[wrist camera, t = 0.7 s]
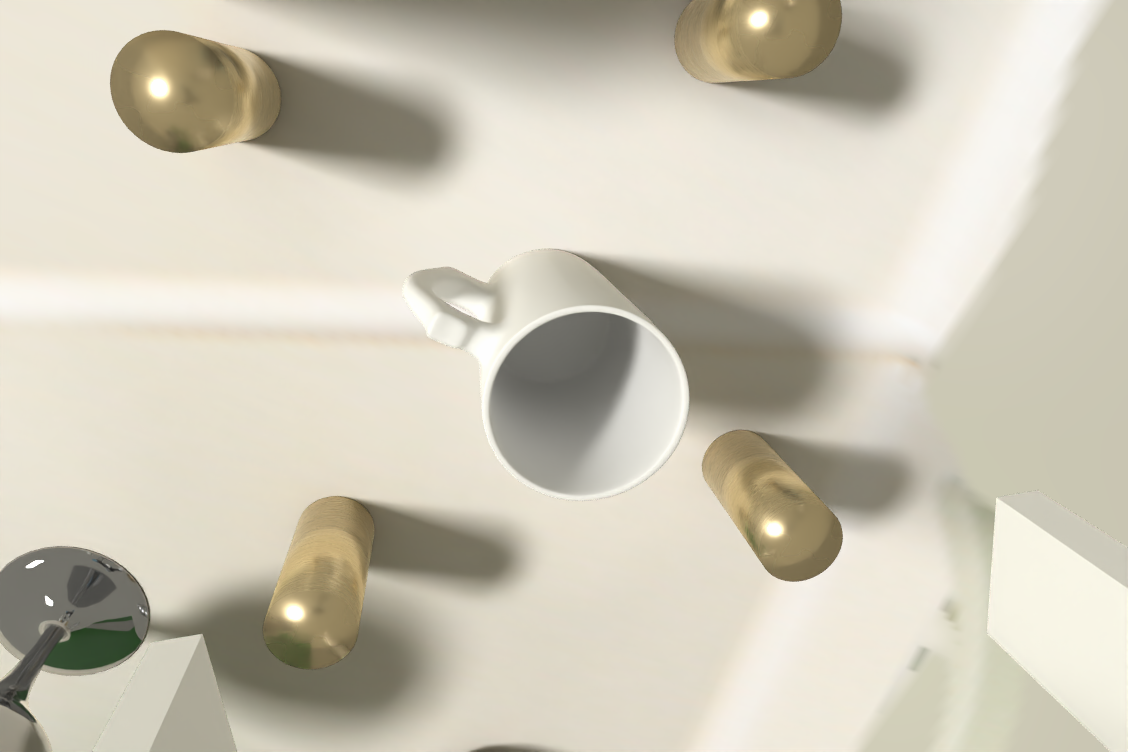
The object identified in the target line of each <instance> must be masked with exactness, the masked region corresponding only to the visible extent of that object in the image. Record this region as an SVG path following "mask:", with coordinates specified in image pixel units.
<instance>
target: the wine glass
mask: <svg viewBox="0 0 1128 752" xmlns="http://www.w3.org/2000/svg"><path fill="white" fill-rule="evenodd" d="M148 623H149V608H148V604H147V600H146V597H145V595H144V593H143V591H142V589H141V587H140V586H139V584H138V583H137V581H136V580H135V579H134V577H133V576H132V575H131V574H130V573H129V572H128V571H126V570H125V569H124V568H123V567H122V566H120V565H119V564H117V563H116V562H115V561H113V560H111V559H109V558H107V557H105V556H103V555H101V554H98V553H95V552H92V551H89V550H86V549H80V548H75V547H59V546H57V547H48V548H42V549H38V550H34V551H30V552H28V553H26V554H23V555H21V556H19V557H17V558H16V559H14V560H13V561H11V562H10V563H8V564H7V565H6V566H5V567H4V568H3V569H2V570H1V571H0V643H1V644H2V645H3V646H4V648H5V649H6V650H8V651H9V652H10V653H11V654H12V655H13V656H14V657H16V658H17V659H19V660H21V661H20V662H19V663H18V664H17V665H16V666H15V667H14V668H13V669H12V670H10V671H9V672H8V673H7V674H6V675H5V676H4V677H3V678H2V679H0V752H53V751H52V748H51V744H50V742H49V739H48V736H47V734H46V732H45V730H44V729H43V727H42V725H41V724H40V722H39V721H38V720H37V718H36V717H35V716H34V714H33V713H32V712H31V710H30V709H29V702H28V700H29V695H30V692H31V689H32V687H33V685H34V683H35V680H36V678H37V676H38V674H39V673H40V671H41V670H42V671H45V672H49V673H52V674H59V675H66V676H81V675H89V674H95V673H99V672H102V671H106V670H108V669H110V668H112V667H115V666H117V665H119V664H120V663H122V662H123V661H125V660H126V659H128V658H129V657H130V656H131V655H132V654H133V653H134V652H135V651H136V650H137V649H138V647H139V646H140V644H141V643H142V641H143V639H144V637H145V635H146V632H147V629H148Z"/></svg>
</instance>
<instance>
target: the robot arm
mask: <svg viewBox="0 0 1128 752" xmlns="http://www.w3.org/2000/svg"><path fill="white" fill-rule="evenodd" d="M987 634H988V635H989V636H990V637H991V638H992V639H993V640H994V641H995V642H996V643H997V644H998V645H999V646H1000V647H1001V648H1003V649H1004V650H1005V651H1006V652H1007V653H1008V654H1009V655H1010V656H1011V657H1012V658H1013V659H1014V660H1015V661H1016V662H1017V663H1018V664H1019V665H1020V666H1021V667H1022V668H1023V669H1024V670H1025V671H1027V672H1028V673H1029V674H1030V675H1031V676H1032V677H1033V678H1034V679H1035V680H1036V681H1037V682H1038V683H1039V684H1040V685H1041V686H1042V687H1043V688H1044V689H1045V690H1046V691H1048V692H1049V693H1050V694H1051V695H1052V696H1053V697H1054V698H1055V699H1056V700H1057V701H1058V702H1059V703H1060V704H1061V705H1062V706H1063V707H1064V708H1065V709H1066V710H1067V711H1068V712H1069V713H1070V714H1072V715H1073V717H1075V718H1076V719H1077V720H1078V721H1079V722H1080V723H1081V724H1082V725H1083V726H1084V727H1085V728H1086V729H1087V730H1088V731H1090V733H1091V734H1092V735H1093V736H1094V737H1095V738H1096V739H1098V740H1099V741H1100V742H1101V743H1102V744H1103V745H1104V746H1105V747H1106V748H1107V749H1108V750H1109V751H1110V752H1128V547H1127V546H1125V545H1124V544H1122V543H1121V542H1119V541H1117V540H1115V539H1114V538H1113V537H1111V536H1110V535H1108V534H1106V533H1105V532H1103V531H1102V530H1100V529H1099V528H1097V527H1095V526H1094V525H1092V524H1091V523H1089V522H1087V521H1086V520H1084V519H1083V518H1081V517H1080V516H1078V515H1077V514H1075V513H1073V512H1072V511H1070V510H1069V509H1067V508H1066V507H1064V506H1062V505H1060V504H1059V503H1058V502H1056V501H1054V500H1053V499H1051V498H1050V497H1048V496H1047V495H1045V494H1043V493H1042V492H1040V491H1039V490H1035V491H1029V492H1024V493H1018V494H1012V495H1006V496H1000V497H996V510H995V524H994V538H993V553H992V567H991V581H990V596H989V610H988V624H987ZM92 752H237V750H236V746H235V743H234V739H233V736H232V732H231V729H230V726H229V722H228V719H227V715H226V712H225V709H224V705H223V702H222V698H221V695H220V692H219V688H218V685H217V681H216V678H215V674H214V671H213V668H212V664H211V661H210V657H209V654H208V651H207V647H206V644H205V640H204V637H203V634H198V635H192V636H186V637H180V638H174V639H169V640H163V641H157V642H151V643H150V645H149V647H148V649H147V651H146V653H145V655H144V656H143V658H142V660H141V662H140V664H139V666H138V667H137V669H136V671H135V673H134V675H133V677H132V679H131V680H130V682H129V684H128V686H127V688H126V690H125V691H124V693H123V695H122V697H121V699H120V701H119V703H118V704H117V706H116V708H115V710H114V712H113V714H112V715H111V717H110V719H109V721H108V723H107V725H106V727H105V728H104V730H103V732H102V734H101V736H100V738H99V739H98V741H97V743H96V745H95V747H94V749H93V751H92Z"/></svg>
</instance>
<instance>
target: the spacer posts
mask: <svg viewBox="0 0 1128 752" xmlns="http://www.w3.org/2000/svg"><path fill="white" fill-rule="evenodd" d="M841 19H842V11H841V3H840V0H693V1H692V2H691V3H689V4H688V6H687V7H686V8H685V9H684V11H683V12H682V14H681V16H680V18H679V20H678V23H677V26H676V30H675V49H676V53H677V56H678V59H679V61H680V63H681V64H682V66H683V67H684V69H685V70H686V71H687V72H688V73H689V74H690V75H692V76H693V77H695V78H696V79H698V80H701V81H704V82H708V83H721V82H736V81H752V80H768V79H783V78H794V77H799V76H801V75H804V74H806V73H808V72H810V71H812V70H813V69H815V68H816V67H818V66H819V65H820V64H821V63H822V62H823V61H824V60H825V59H826V58H827V56H828V55H829V54H830V52H831V51H832V49H833V47H834V45H835V43H836V41H837V38H838V35H839V32H840V27H841ZM110 88H111V95H112V100H113V103H114V105H115V108H116V110H117V112H118V114H119V116H120V118H121V119H122V121H123V122H124V124H125V125H126V126H127V127H128V129H129V130H130V131H131V132H132V133H133V134H134V135H136V136H137V137H138V138H139V139H141V140H142V141H144V142H145V143H147V144H149V145H151V146H153V147H155V148H157V149H161V150H164V151H168V152H175V153H187V152H193V151H198V150H203V149H208V148H213V147H217V146H222V145H227V144H232V143H237V142H242V141H247V140H251V139H254V138H257V137H259V136H261V135H263V134H264V133H265V132H267V131H268V130H269V129H270V128H271V127H272V125H273V124H274V123H275V121H276V119H277V117H278V114H279V111H280V106H281V93H280V88H279V84H278V81H277V79H276V77H275V75H274V73H273V71H272V70H271V69H270V67H269V66H268V65H267V64H266V63H265V62H264V61H263V60H262V59H261V58H260V57H258V56H257V55H255V54H254V53H252V52H250V51H248V50H245V49H242V48H238V47H235V46H231V45H227V44H223V43H219V42H215V41H211V40H207V39H203V38H199V37H195V36H191V35H187V34H183V33H179V32H175V31H167V30H159V31H152V32H147V33H144V34H141V35H139V36H137V37H135V38H134V39H132V40H131V41H130V42H128V43H127V44H126V45H125V46H124V47H123V48H122V50H121V51H120V52H119V54H118V55H117V57H116V59H115V61H114V64H113V67H112V71H111V77H110ZM702 472H703V476H704V479H705V481H706V482H707V484H708V485H709V487H710V488H711V490H712V491H713V493H714V494H715V496H716V497H717V499H718V500H719V501H720V503H721V504H722V506H723V507H724V509H725V510H726V512H727V513H728V515H729V516H730V518H731V519H732V520H733V522H734V523H735V525H736V526H737V528H738V529H739V531H740V532H741V534H742V535H743V537H744V538H745V539H746V541H747V542H748V544H749V545H750V547H751V548H752V550H753V551H754V553H755V554H756V556H757V557H758V559H759V560H760V561H761V563H762V564H763V566H764V567H765V569H766V570H767V571H768V572H769V573H770V574H771V575H773V576H774V577H776V578H778V579H781V580H785V581H791V582H795V581H803V580H807V579H810V578H813V577H815V576H817V575H819V574H820V573H822V572H823V571H824V570H826V569H827V568H828V567H829V566H830V565H831V564H832V563H833V561H834V560H835V559H836V557H837V555H838V553H839V551H840V549H841V545H842V539H843V534H842V528H841V525H840V522H839V521H838V519H837V517H836V516H835V515H834V514H833V513H832V512H831V511H830V510H829V509H828V508H827V506H826V505H825V504H824V503H823V502H822V501H821V500H820V499H819V498H818V497H817V496H816V495H815V494H814V493H813V492H812V490H811V489H810V488H809V487H808V486H807V485H806V484H805V483H804V482H803V481H802V480H801V479H800V478H799V477H798V476H797V474H796V473H795V472H794V471H793V470H792V469H791V468H790V467H789V466H788V465H787V464H786V463H785V462H784V461H783V460H782V458H781V457H780V456H779V455H778V454H777V453H776V452H775V451H774V450H773V449H772V448H771V447H770V446H769V445H768V444H767V442H766V441H765V440H764V439H763V438H762V437H760V436H759V435H757V434H756V433H753V432H750V431H746V430H736V431H731V432H728V433H726V434H724V435H722V436H720V437H719V438H717V439H716V440H715V441H714V442H713V443H712V444H711V445H710V446H709V448H708V449H707V451H706V453H705V455H704V458H703V462H702ZM373 538H374V522H373V519H372V517H371V515H370V514H369V512H368V511H367V510H366V508H364V507H363V506H362V505H361V504H359V503H358V502H356V501H354V500H352V499H349V498H345V497H339V496H333V497H326V498H322V499H319V500H317V501H315V502H314V503H312V504H311V505H309V506H308V507H307V508H306V509H305V510H304V512H303V513H302V515H301V517H300V519H299V522H298V525H297V528H296V531H295V533H294V536H293V539H292V542H291V545H290V548H289V551H288V554H287V556H286V559H285V562H284V565H283V568H282V571H281V574H280V577H279V579H278V582H277V585H276V588H275V591H274V594H273V597H272V600H271V602H270V605H269V608H268V611H267V614H266V617H265V620H264V624H263V636H264V640H265V643H266V645H267V647H268V648H269V650H270V651H271V652H272V654H273V655H274V656H275V657H277V658H278V659H279V660H281V661H282V662H284V663H286V664H288V665H290V666H293V667H297V668H302V669H319V668H324V667H328V666H330V665H333V664H335V663H337V662H339V661H340V660H342V659H343V658H344V657H345V656H347V655H348V653H349V652H350V651H351V650H352V648H353V647H354V645H355V643H356V640H357V636H358V630H359V624H360V618H361V612H362V606H363V599H364V593H365V587H366V581H367V575H368V569H369V563H370V557H371V551H372V544H373Z"/></svg>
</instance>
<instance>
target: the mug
mask: <svg viewBox="0 0 1128 752" xmlns="http://www.w3.org/2000/svg"><path fill="white" fill-rule="evenodd" d="M402 293H403V297H404V300H405V301H406V303H407V305H408V306H409V308H410V309H411V311H412V312H413V314H414V315H415V316H416V318H417V319H418V320H419V321H420V323H421V324H422V325H423V326H424V327H425V329H426V332H427V336H428V337H429V338H430V339H432V340H434V341H437V342H439V343H441V344H444V345H446V346H449V347H452V348H459V349H461V350H464V351H465V352H467V353H469V354H470V355H472V356H473V357H474V358H476V359H477V360H478V362H479V369H480V389H481V402H482V416H483V424H484V428H485V432H486V436H487V439H488V441H489V444H490V446H491V448H492V450H493V452H494V453H495V455H496V457H497V458H498V460H499V461H500V462H501V464H502V465H503V466H504V467H505V469H506V470H507V471H508V472H509V473H510V474H511V475H512V476H514V477H515V478H516V479H517V480H518V481H520V482H521V483H523V484H524V485H526V486H527V487H529V488H531V489H533V490H535V491H537V492H539V493H541V494H544V495H547V496H550V497H554V498H558V499H563V500H571V501H590V500H598V499H603V498H608V497H611V496H615V495H618V494H620V493H623V492H625V491H628V490H630V489H632V488H634V487H635V486H637V485H639V484H641V483H642V482H644V481H645V480H647V479H648V478H649V477H650V476H652V475H653V474H654V473H655V472H656V471H657V470H659V469H660V468H661V467H662V466H663V464H664V463H665V462H666V461H667V460H668V459H669V457H670V456H671V455H672V453H673V452H674V450H675V449H676V447H677V445H678V443H679V442H680V439H681V437H682V435H683V432H684V429H685V426H686V422H687V418H688V413H689V402H690V394H689V384H688V379H687V375H686V371H685V368H684V366H683V363H682V361H681V359H680V357H679V355H678V353H677V351H676V349H675V348H674V346H673V345H672V344H671V342H670V341H669V340H668V339H667V337H666V336H665V335H664V334H663V333H662V332H661V331H660V330H659V329H658V328H657V327H656V326H655V325H654V324H653V323H652V322H651V321H650V319H649V318H648V317H646V316H645V315H644V314H643V313H642V312H641V311H640V310H639V309H638V308H637V307H636V306H635V305H634V304H633V303H632V302H631V301H629V300H628V299H627V298H626V297H625V296H624V295H623V294H622V293H621V292H620V291H619V290H618V289H617V288H616V287H615V286H614V285H613V284H612V283H611V282H610V281H609V280H607V279H606V278H605V277H604V276H603V275H602V274H601V273H600V272H599V271H598V270H596V269H595V268H594V267H593V266H592V265H590V264H589V263H588V262H586V261H585V260H583V259H582V258H580V257H578V256H576V255H574V254H571V253H569V252H566V251H561V250H556V249H538V250H532V251H528V252H525V253H522V254H520V255H517V256H515V257H513V258H512V259H510V260H508V261H507V262H506V263H504V264H503V265H502V266H501V267H499V268H498V269H497V270H496V271H495V273H494V274H493V275H492V276H491V277H490V279H489V280H488V282H487V283H485V282H482V281H479V280H477V279H475V278H473V277H471V276H469V275H467V274H465V273H463V272H461V271H459V270H457V269H454V268H451V267H440V268H433V269H426V270H420V271H416V272H414V273H412V274H411V275H409V276H408V278H407V279H406V280H405V282H404V284H403V288H402ZM444 301H445V302H444ZM446 302H448V303H450V304H453V305H455V306H457V307H460V308H462V309H464V310H466V311H468V312H469V313H471V314H473V315H474V316H475V317H476V318H477V319H475V318H473V317H471V316H469V315H467V314H465V313H462V312H461V311H459V310H457V309H455V308H454V307H452V306H450V305H449V304H447V303H446Z"/></svg>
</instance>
